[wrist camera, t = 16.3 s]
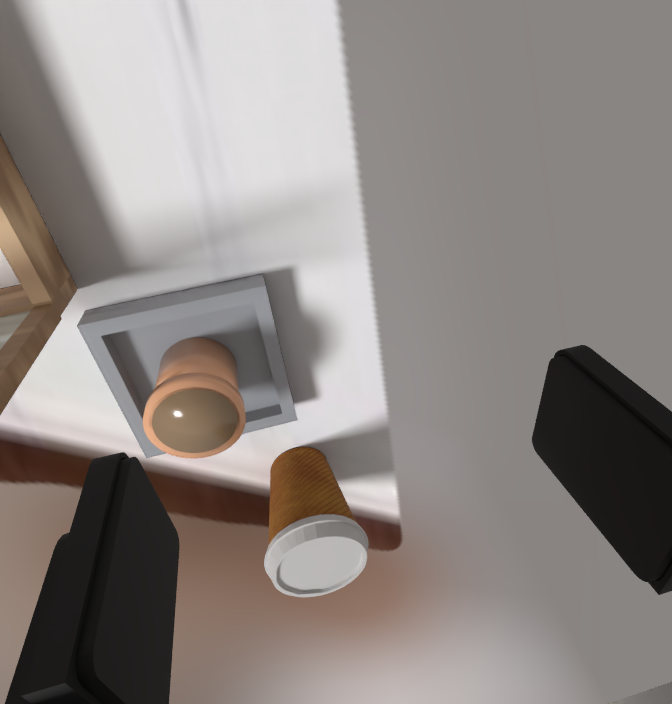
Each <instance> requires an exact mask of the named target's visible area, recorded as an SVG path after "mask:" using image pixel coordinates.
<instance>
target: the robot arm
mask: <svg viewBox="0 0 672 704" xmlns="http://www.w3.org/2000/svg"><path fill="white" fill-rule="evenodd" d="M532 443H533V446H534V449H535V451H536V452H537V454H538V455H539V456H540V458H541V459H542V460H543V461H544V463H545V464H546V465H547V466H548V468H549V469H550V470H551V471H552V473H553V474H554V475H555V476H556V477H557V479H558V480H559V481H560V482H561V483H562V485H563V486H564V487H565V488H566V490H567V491H568V492H569V493H570V495H571V496H572V497H573V498H574V499H575V501H576V502H577V503H578V505H579V506H580V507H581V508H582V509H583V511H584V512H585V513H586V514H587V516H588V517H589V518H590V519H591V521H592V522H593V523H594V524H595V526H596V527H597V528H598V529H599V530H600V531H601V533H602V534H603V535H604V537H605V538H606V539H607V540H608V542H609V543H610V544H611V545H612V546H613V548H614V549H615V550H616V552H617V553H618V554H619V555H620V556H621V558H622V559H623V560H624V561H625V563H626V564H627V565H628V566H629V567H630V569H631V570H632V571H633V572H634V574H635V575H636V576H637V577H638V578H640V579H641V580H643V581H645V582H649V584H650V585H651V586H652V587H653V589H654V590H655V591H656V592H657V593H658V594H659V595H660V594H663V593H666V592H669V591H672V412H671V411H670V410H669V409H668V408H666V407H665V406H664V405H662V404H661V403H660V402H659V401H657V400H656V399H655V398H653V397H652V396H651V395H649V394H648V393H647V392H646V391H644V390H643V389H642V388H641V387H639V386H638V385H637V384H636V383H634V382H633V381H632V380H630V379H629V378H628V377H627V376H625V375H624V374H623V373H621V372H620V371H619V370H618V369H616V368H615V367H614V366H612V365H611V364H610V363H608V362H607V361H606V360H605V359H603V358H602V357H601V356H600V355H598V354H597V353H596V352H594V351H593V350H592V349H591V348H589V347H587V346H585V345H580V346H576V347H572V348H567V349H563V350H560V351H557V352H556V353H555V356H554V358H552V359H551V360H550V362H549V366H548V370H547V374H546V379H545V383H544V388H543V392H542V396H541V401H540V405H539V410H538V414H537V419H536V423H535V428H534V432H533V436H532ZM178 559H179V538H178V534H177V531H176V529H175V527H174V525H173V523H172V522H171V519H170V518H169V516H168V514H167V512H166V510H165V508H164V506H163V505H162V503H161V501H160V499H159V497H158V495H157V493H156V492H155V490H154V488H153V486H152V484H151V482H150V480H149V479H148V477H147V475H146V473H145V471H144V469H143V467H142V466H141V464H140V462H139V460H138V459H137V458H136V457H132V458H129V457H128V456H127V454H125V453H124V452H123V453H117V454H113V455H109V456H105V457H100V458H96V459H93V460H92V461H91V463H90V466H89V469H88V472H87V476H86V479H85V482H84V486H83V489H82V492H81V496H80V499H79V502H78V506H77V509H76V513H75V516H74V519H73V523H72V526H71V529H70V532H69V533H67V534H64V535H62V537H61V538H60V539H59V540H58V542H57V544H56V546H55V549H54V552H53V555H52V558H51V561H50V564H49V567H48V571H47V573H46V577H45V580H44V583H43V586H42V589H41V592H40V596H39V599H38V602H37V605H36V608H35V611H34V614H33V617H32V621H31V623H30V627H29V630H28V633H27V636H26V639H25V642H24V645H23V648H22V652H21V655H20V658H19V661H18V664H17V667H16V671H15V674H14V677H13V680H12V683H11V686H10V689H9V692H8V696H7V699H6V702H5V704H169V693H170V678H171V663H172V648H173V633H174V618H175V604H176V588H177V574H178ZM610 704H672V682H670V683H667V684H665V685H662V686H659V687H656V688H653V689H650V690H647V691H644V692H641V693H638V694H636V695H633V696H630V697H627V698H624V699H621V700H618V701H616V702H613V703H610Z"/></svg>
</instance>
